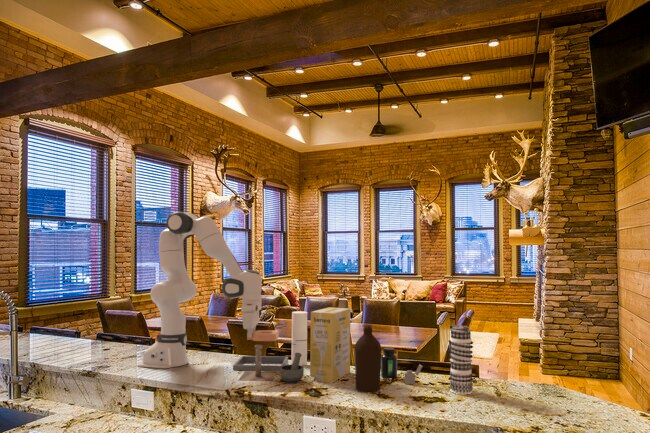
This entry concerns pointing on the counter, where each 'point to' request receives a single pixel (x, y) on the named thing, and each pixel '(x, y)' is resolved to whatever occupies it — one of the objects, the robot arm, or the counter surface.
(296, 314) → the cylindrical container
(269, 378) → the stake stand
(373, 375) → the olive oil
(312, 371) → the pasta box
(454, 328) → the grey banded cylinder
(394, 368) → the supplement bottle
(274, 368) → the tray
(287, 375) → the mortar and pestle
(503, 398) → the counter surface
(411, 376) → the lighter
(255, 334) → the ring
